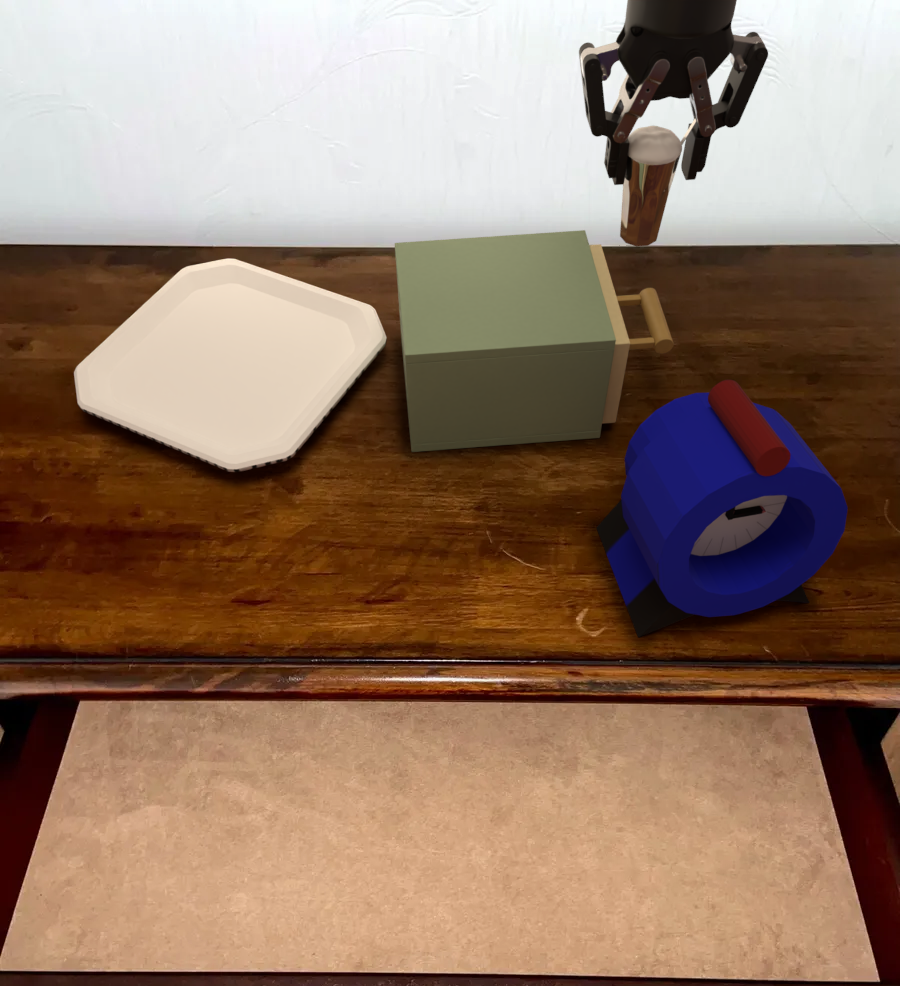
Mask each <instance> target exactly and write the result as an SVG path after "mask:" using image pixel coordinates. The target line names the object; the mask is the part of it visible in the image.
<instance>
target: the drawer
mask: <svg viewBox="0 0 900 986" xmlns="http://www.w3.org/2000/svg"><path fill="white" fill-rule="evenodd" d="M589 246H590V250H591V253H592V257H593V260H594V264H595V267H596V271H597V274H598V278H599V281H600V285H601V289H602V292H603V296H604V299H605V303H606V306H607V310H608V313H609V317H610V320H611V324H612V327H613V331H614V335H615V338H616V343H615V348H614V355H613V361H612V367H611V373H610V379H609V385H608V391H607V397H606V403H605V409H604V415H603V421H602V425H604V424H614V423H616V422H617V418H618V412H619V407H620V400H621V395H622V389H623V385H624V380H625V374H626V367H627V363H628V358H629V351H634V350H647V349H648V350H649V349H654V351H655V353H657V354H662V355H663V354H667V353H669V352H670V351H671V350H672V349H673V348H674V341H673V337H672V335H671V332H670V328H669V325H668V322H667V320H666V317H665V313H664V311H663V308H662V305H661V302H660V298H659V294H658V293H657V290H656V289H655V288H653V287H645V288H643V289H642V290H641V291H640V292H639V293H638V294H627V295H626V294H625V295H617V294H616V291H615V287H614V283H613V280H612V276H611V273H610V270H609V267H608V262H607V260H606V259H607V258H606V257H605V253H604V250H603V246H602V244H599V243H598V244H589ZM631 306H640V307H641V311H642V313H643V316H644V320H645V323H646V325H647V330H648V332H649V335H650V337H639V338H637V337H636V338H629V334H628V331H627V328H626V324H625V321H624V318H623V317H624V316H623V313H622V311H621V307H631Z"/></svg>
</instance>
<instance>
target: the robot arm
mask: <svg viewBox="0 0 900 986" xmlns="http://www.w3.org/2000/svg"><path fill="white" fill-rule="evenodd" d="M737 1H738V0H627V3H626V10H625V18H624V23H623V26H622V28H621V31H620V32H619V33H618V35H617V37H616V38H615V39H616V40H615V41H614V42H610V43H606V44H603V45H600V46H596V47H595V45H594V44H593V43H592V42H585V43H583V44H581V46H580V47H579V48H578V59H579V66H580V74H581V83H582V93H583V101H584V109H585V117H586V119H587V123H588V127H589V129H590V132H591V134H592V135H593V137H596V138H597V137H601V136H603V137H606V144H605V153H604V159H603V160H604V161H603V164H604V168H605V170H606V174H607V177H608V179H612V182H613V185H614V186H619V185H620V186H623V184H624V179H625V172H626V165H627V158H628V151H629V140H628V137H629V135H630V134H631V133H632V132H633V128H634V127H635V125H636V124H637V121H638V120H639V119H641V118H642V117H643V116H644V114H645V112H646V111H647V109H648V107H649V105H650V104H651V102H652V101H661V100H664V99H667V98H675V99H679V100H683V99H689V104H690V108H691V112H692V117H693V119H692V120H693V121H694V119H695V118H696V123H695V125H694V126H693V128H692V130H691V131H690V133H689V135H688V136H687V138H686V140H685V141H684V147H683V151H682V152H683V153H682V159H681V164H680V167H681V173H682V174H683V175H682V176H683V177H684V179H685V181H694V180H696V178H697V174H698V173H702V172H703V170H704V168H705V167H706V163H707V158H708V153H709V148H710V144H711V139H712V135H713V134H714V133H715V132H716V131H717V130H719V129H721V128H723V127H727V128H728V129H729V128H730V129H731V128H735V127H736V126H738V125H739V123H740V121H741V119H742V116H743V115H744V112H745V110H746V108H747V105H748V103H749V101H750V98H751V97H752V94H753V92H754V89H755V88H756V85H757V82H758V80H759V78H760V77H761V74H762V71H763V69H764V66H765V64H766V62H767V60H768V57H769V51H768V49H767V47H766V44H765V43H764V41H763V39H762V37H760V34H759V33H758V32H756V31H750V32H748V33H747V34H746V35H739V34H734V33H733V30H732V23H733V19H734V17H735V16H734V15H735V10H736V5H737ZM729 55H730V58H729V61H730V64H731V65H732V67H731V69H730V72H729V74H728V76H727V78H726V81H725V84H724V87H723V88H722V91H721V93H720V96H719V98H718V100H717V102H716V103H714V104H713V100H712V95H711V91H710V85H709V79H710V78H711V77H712V76H713V74H714V73H715V72H716V71H717V70H718V69H719V67H720V66H721V65H722V64H723V63H724V61H725V60H726V59H727V58H728V57H729ZM617 62H619V63H620V65H621V66H622V68H623V69H624V71H625V72H626V76H625V78H624V80H623V81H622V84H621V85H620V88H619V91H618V97H617V99H616V101H615V103H614V105H613V107H612V109H611V111H608V110H606V106H605V105H606V104H605V94H604V86H603V85H604V84H603V82H606V81H607V80H608V79H609V78H610V76H611V73H612V68H613V66H614V65H615V63H617ZM693 121H692V122H693ZM692 122H691V123H688V125H687V130H688V129H689V127H690V125H691V124H692Z"/></svg>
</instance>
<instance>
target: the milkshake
mask: <svg viewBox="0 0 900 986" xmlns="http://www.w3.org/2000/svg"><path fill="white" fill-rule="evenodd" d="M693 120H694V121H692V122H691V123H692V124H691V125H690V127H689V129H688V128H687V130H686V132H685V133H684V135H683V137H682V138H681V139H680V138H679V137H678V136H677V135H676V133H674V132H673V131H672V130H671V129H668V128H665V127H662V126H658V125H648V126H642V127H638V128H636V129H634V130H632V131H631V133H630V135H629V137H628V140H629V151H628V158H627V165H626V172H625V179H624V184H622V194H621V195H622V197H621V210H620V212H621V213H620V226H619V227H620V228H619V237H620V238H621V239H622V240H623V242H624V243H625V244H627V245H631V246H633V247H649V246H650V245H653V243H655V242H657V239H658V236H659V232H660V229H661V225H662V221H663V217H664V214H665V209H666V206H667V202H668V199H669V194H670V190H671V187H672V183H673V182H674V178H675V175H676V171H677V168H678V165H679V162H680V161H679V160H680V159H681V154H682V152H683V144H685V142H686V138H687V136H688V135H689V133H690V131H691V130H692V128H693V126H694V125H695V123H696V118H695V119H694V118H693Z"/></svg>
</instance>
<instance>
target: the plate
mask: <svg viewBox="0 0 900 986" xmlns="http://www.w3.org/2000/svg"><path fill="white" fill-rule="evenodd" d="M387 339H388V337H387V335H386V332H385V329H384V327H383V325H382V322H381V320H380V317H379V315H378V313H377V310H376V308H374V307H373V306H372V305H371V304H368V303H365V302H362V301H359V300H358V299H357V300H356V299H353V298H351V297H349V296H345V295H342V294H339V293H336V292H333V291H330V290H328V289H325V288H321V287H318V286H315V285H313V284H310V283H307V282H304V281H301V280H299V279H295V278H292V277H290V276H289V277H288V276H287V275H283V274H280V273H277V272H275V271H272V270H269V269H266V268H263V267H259V266H257V265H254V264H252V263H248V262H246V261H242V260H239V259H238V258H237V259H236V258H223V259H217V260H213V261H207V262H203V263H197V264H192V265H187V266H185V267H183V268H181V269H180V270H179V271H178V272H176V274H175V275H173V276H172V277H171V278H170V279H169V280H168V281H167V282H166V283H164V285H162V287H160V289H159V290H157V291H156V292H155V293H154V294H153V295H152V296H151V297H150V298H149V299H147V300H146V301H145V302H144V303H143V304H142V305H140V307H139V308H138V309H136V311H135V312H134V313H133V314H132V315H130V317H128V318H127V319H126V320H125V321H123V323H122V324H120V325H119V326H118V327H117V328H116V329H115V330H114V331H113V332H112V333H111V334H110V335H109V336H107V337H106V338H105V340H103V341H102V342H101V343H100V344H99V345H98V346H97V347H96V348H95V349H94V350H92V351H91V353H89V354H88V355H87V356H86V357H85V358H84V359H83V360H82V361H81V362H79V364H77V365H76V367H75V369H74V371H73V376H74V377H73V378H74V385H75V393H76V402H77V405H78V407H79V408H80V409H81V410H82V411H83V412H84V413H86V414H89V415H91V416H93V417H96V418H98V419H101V420H103V421H106V422H107V423H110V424H113V425H116V426H118V427H120V428H123V429H125V430H127V431H130V432H132V433H135V434H137V435H139V436H142V437H144V438H147V439H149V440H151V441H154V442H157V443H159V444H161V445H163V446H166V447H169V448H170V449H173V450H176V451H178V452H180V453H183V454H185V455H188V456H189V457H192V458H195V459H197V460H200V461H202V462H204V463H207V464H209V465H211V466H213V467H216V468H219V469H221V470H223V471H225V472H229V473H241V472H244V471H248V470H252V469H253V470H254V469H258V468H262V467H265V466H270V465H274V464H279V463H282V462H283V463H284V462H287V461H289V460H290V459H292V458H293V457H294V456H295V455H296V454H297V453H298V452H299V450H300V449H301V448H302V447H303V446H304V444H305V443H306V442H307V441H308V440H309V438H310V437H311V436H312V435H313V434H314V432H315V431H316V430H317V429H318V427H319V426H320V425H321V424H322V422H323V421H325V419H326V418H327V417H328V416H329V415H330V413H331V412H332V411H333V409H334V408H335V407H336V406H337V405H338V403H339V402H340V401H341V400H342V399H343V398H344V396H345V395H346V394H347V393H348V391H349V390H350V389H352V387H353V385H355V383H356V382H357V381H358V379H359V378H360V377H361V376H362V374H364V372H365V371H366V370H367V369H368V368H369V366H371V364H372V363H373V362H374V360H375V359H376V358H377V357H378V356H379V354H380V353H381V352H382V351H383V350H384V348H385V347H386V345H387V341H388V340H387Z"/></svg>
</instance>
